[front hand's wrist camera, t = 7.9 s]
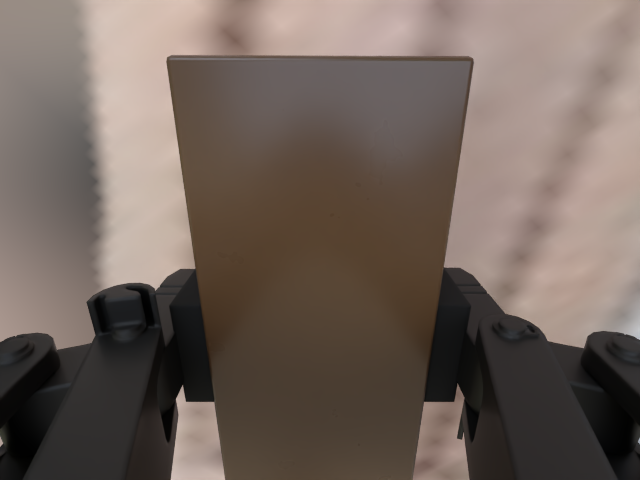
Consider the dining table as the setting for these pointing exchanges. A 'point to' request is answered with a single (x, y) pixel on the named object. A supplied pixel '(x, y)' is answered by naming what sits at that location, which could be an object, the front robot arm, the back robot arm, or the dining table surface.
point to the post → (319, 250)
